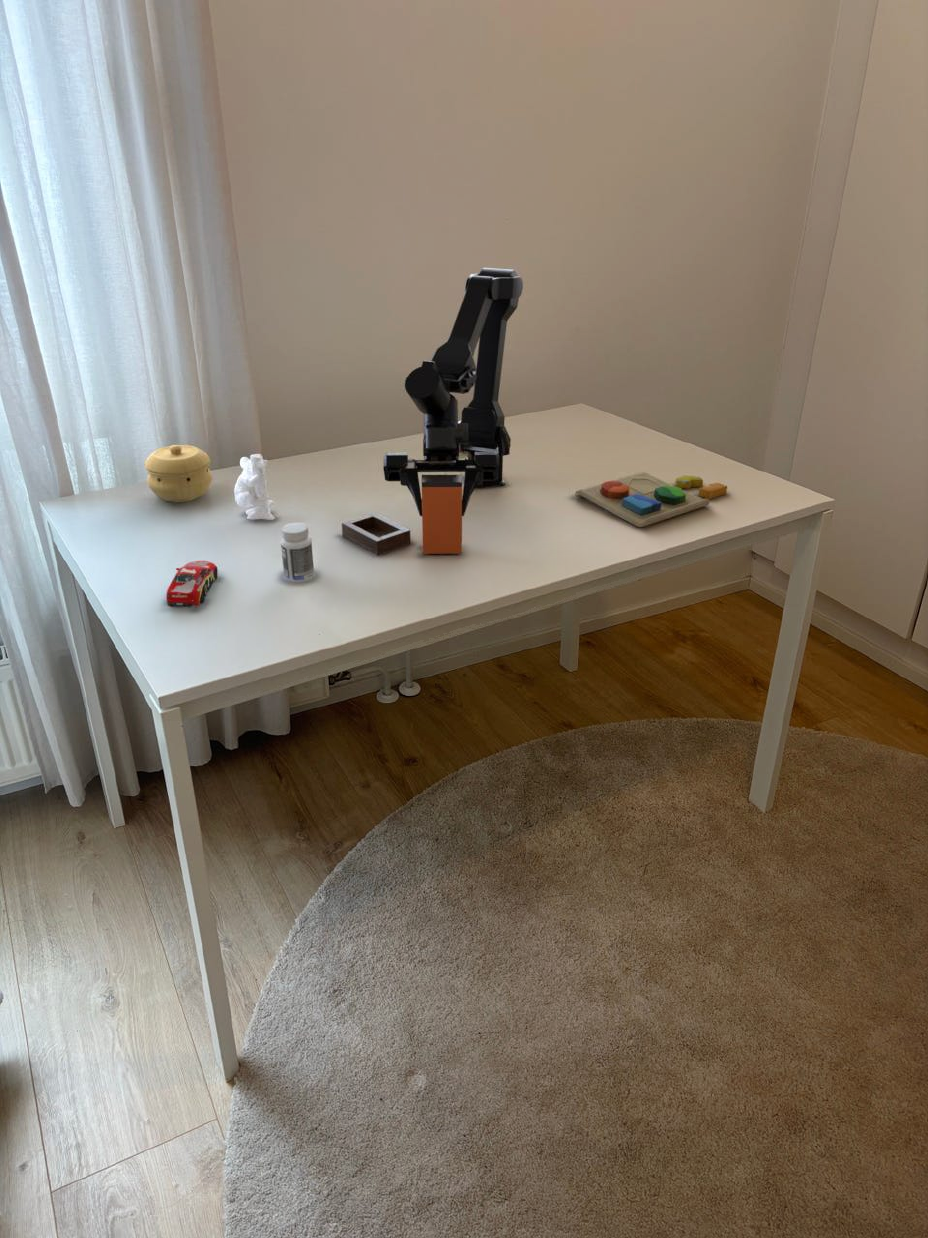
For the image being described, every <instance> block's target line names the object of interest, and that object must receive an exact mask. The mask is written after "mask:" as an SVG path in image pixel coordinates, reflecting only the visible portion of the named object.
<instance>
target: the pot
mask: <svg viewBox="0 0 928 1238" xmlns="http://www.w3.org/2000/svg"><path fill="white" fill-rule="evenodd" d="M210 465H211V459H210V457H209V456H208V454H207V453H206V452H205V451H204V450H202V449H200V448H198V447H196V446H193V445H188V444H187V445H186V444H173V445H168V446H163V447H161V448H157V449H156V450H154V451H153V452H152V453H150V454H149V456H148V457H147V459H145V462H144V470H145V471H146V473H148V476H147V478H146V484H147V486H148V488H149V489H150V491H152V493H153V494H154V495H155V496H157V497H158V498H160V499H162V500H164V501H167V502H173V503H180V502H188V501H192V500H195V499H198V498H200V497H202V496H204V495H205V494H206V492H207V491H208V490H209V488H210V486H211V484H212V481H213V473H212V471H211V470H210V469H209V467H210Z"/></svg>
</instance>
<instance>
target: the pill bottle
mask: <svg viewBox="0 0 928 1238" xmlns="http://www.w3.org/2000/svg"><path fill="white" fill-rule="evenodd" d="M309 533H310V532H309V527H308V525H307V523H306V524H305V523H303V522H290V523H287V524H285V525H283V526H282V527H281V536H282V539H281V540H280V551H281V558H282V560H281V561H282V570H283V578H284V579H285V580H286V581H288V582H292V583H305V582H308V581H310V580H311V579H313V578H314V576H315V567H314V565H315V564H314V556H313V555H314V554H313V542H312V538H311V537H310V536H309Z"/></svg>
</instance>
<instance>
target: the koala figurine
mask: <svg viewBox="0 0 928 1238" xmlns="http://www.w3.org/2000/svg"><path fill="white" fill-rule="evenodd" d="M268 463H269V460H268V459H264V458H263V456H262V454H260V453H254V454H253V453H252V454H250V456H249V457H248V456H243V457H241V458H240V461H239V465H240V468H241V469H242V472H241V474H240V475H239V476H238V478H237V480H236V483H235V485H234V488H233V489H234V490H233V491H234V500H235V502H236V503H237V505H238V506H239V507H241V508H247V507H253V508H249V509H247V510H246V511H245V513H246V515H247V517H246V519H247V520H270V521H272V520H275V516H274V515H273V514H272V513H271V511H272V510H271V508H272V506H273V505H274V501H273V500H271V499H269V495H268V489H267V484H268V482H267V481H268V480H267V477H266V473H267V470H266V469H267V465H268Z"/></svg>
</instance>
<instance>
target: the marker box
mask: <svg viewBox="0 0 928 1238" xmlns="http://www.w3.org/2000/svg"><path fill="white" fill-rule="evenodd" d="M462 496H463V475H462V474H421V499H422V516H421V528H422V529H421V530H422V531H421V532H422V534H421V535H422V555H423V554H424V555H440V554H442V555H443V554H445V555H446V554H449V555H451V554H454V555H455V554H456V555H457V554H459V555H460V554H462V553H463V516H462Z"/></svg>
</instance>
